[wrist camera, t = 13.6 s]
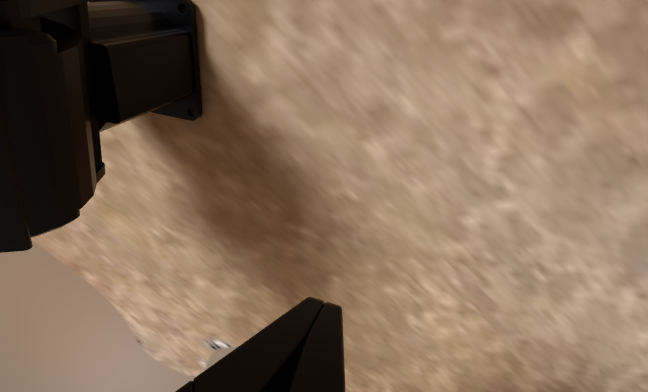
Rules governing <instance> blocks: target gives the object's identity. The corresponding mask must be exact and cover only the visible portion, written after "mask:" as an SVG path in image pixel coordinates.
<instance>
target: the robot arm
mask: <svg viewBox="0 0 648 392" xmlns="http://www.w3.org/2000/svg"><path fill="white" fill-rule="evenodd" d="M183 4H184V5H185V6H186V13H185V12H184V11H183V8H182V7H183ZM191 109H193V110H194V113H195V114H193V113H192V111H191ZM149 112H153V113H158V114H162V115H167V116H172V117H177V118H181V119H186V120H191V121H194V120H196V119H198V118H200V117H201V116H202V102H201V87H200V73H199V58H198V44H197V29H196V15H195V7H194V4H193V2H192V1H191V0H0V253H1V252H13V251H25V250H29V249H30V248H32V242H31V237H36V236H38V235H41V234H44V233H47V232H50V231H52V230H55V229H58V228H61V227H62V226H64V225H66V224H68V223H70V222H71V221H73V220H75V219H76V218H78V217H79V216H80V211H79V209H81V208H82V207H83V206H84V205H85V204H86V203H87V202H88V201H89V200H90V199H91V198H92V196H93V195H94V192H95V188H96V184H97V183H98V182H99V180H100V179H101V178H102V177H103V176H104V175H105V164H104V163H103V162H102V156H101V145H100V134H99V132H101V131H104V130H106V129H109V128H111V127H114V126H116V125H119V124H121V123H124V122H126V121H129V120H131V119H134V118H136V117H139V116H141V115H144V114H146V113H149ZM176 392H345V371H344V345H343V320H342V308H341V306H338V305H335V304H332V303H329V302H327V303H325V302H324V301H322V300H319V299H316V298H313V297H308V298H306V299H305V300H303V301H302V302H300V303H299V304H298V305H296V306H295V307H293V308H292V309H291V310H289V311H288V312H286V313H285V314H284V315H282V316H281V317H279V318H278V319H277V320H275V321H274V322H272V323H271V324H270V325H268V326H267V327H265V328H264V329H263V330H261V331H260V332H258V333H257V334H256V335H254V336H253V337H251V338H250V339H249V340H247V341H246V342H244V343H243V344H242V345H240V346H239V347H237V348H236V349H235V350H233V351H232V352H231V353H229V354H228V355H226V356H225V357H223V358H222V359H221V360H219V361H218V362H216V363H215V364H214V365H212V366H211V367H209V368H208V369H207V370H205V371H204V372H202V373H201V374H200V375H198V376H197V377H195V378H194V381H189V382H188V383H187V384H185V385H184V386H183V387H181V388H180V389H178V390H177V391H176Z"/></svg>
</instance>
